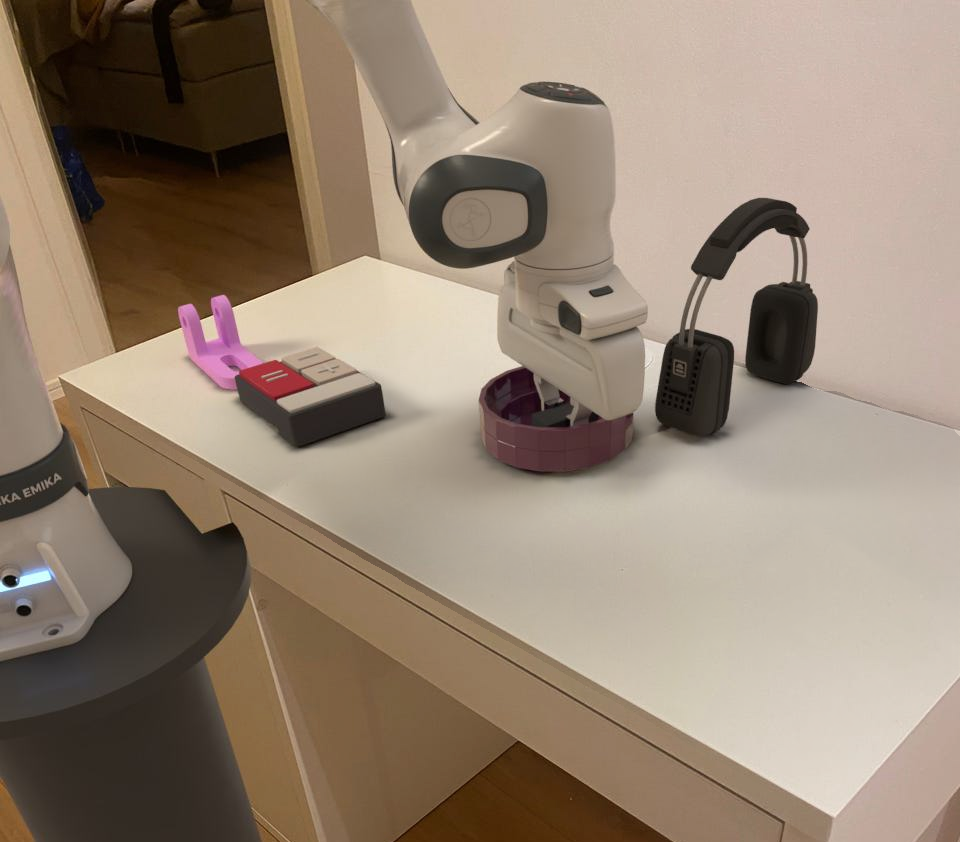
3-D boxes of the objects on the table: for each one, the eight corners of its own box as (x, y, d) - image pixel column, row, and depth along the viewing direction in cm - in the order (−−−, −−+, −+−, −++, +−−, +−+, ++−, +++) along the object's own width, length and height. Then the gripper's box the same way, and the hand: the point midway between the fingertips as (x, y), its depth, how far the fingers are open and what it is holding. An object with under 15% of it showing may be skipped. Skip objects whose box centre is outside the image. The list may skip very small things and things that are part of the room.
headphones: (698, 449, 98) (716, 240, 85) (646, 430, 101) (656, 227, 89) (817, 372, 109) (849, 178, 96) (767, 357, 113) (791, 169, 100)
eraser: (548, 453, 97) (547, 425, 95) (532, 441, 99) (531, 413, 97) (598, 436, 99) (599, 408, 97) (582, 424, 101) (582, 397, 100)
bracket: (189, 358, 123) (175, 302, 118) (231, 346, 125) (219, 291, 120) (228, 394, 114) (214, 335, 110) (273, 380, 116) (261, 322, 112)
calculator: (319, 342, 115) (381, 377, 104) (325, 377, 117) (387, 416, 107) (231, 369, 110) (287, 409, 100) (240, 405, 113) (295, 448, 102)
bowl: (533, 493, 93) (531, 445, 90) (455, 431, 104) (452, 387, 100) (662, 447, 98) (665, 400, 95) (576, 392, 109) (577, 349, 106)
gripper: (477, 262, 96) (485, 395, 104) (599, 328, 81) (596, 475, 90) (533, 248, 98) (536, 379, 107) (660, 310, 84) (652, 456, 92)
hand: (564, 424), depth 98 cm, fingers closed on eraser, 3 cm apart
